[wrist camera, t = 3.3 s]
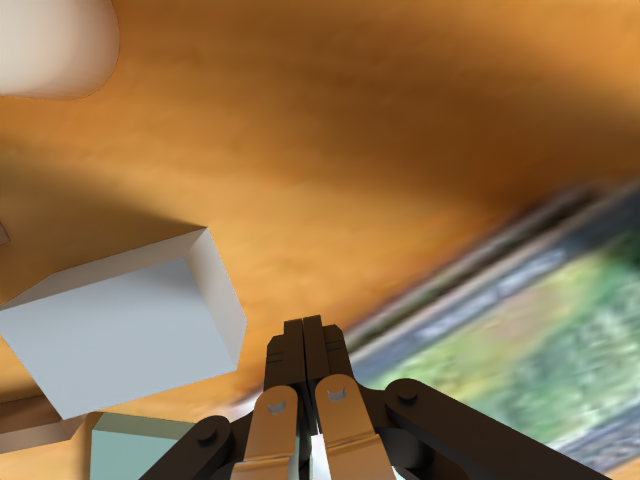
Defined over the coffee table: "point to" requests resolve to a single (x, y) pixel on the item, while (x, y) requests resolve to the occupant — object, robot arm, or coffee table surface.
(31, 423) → the display bay
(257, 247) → the coffee table surface
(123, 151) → the coffee table surface
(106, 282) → the carton
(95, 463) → the green flat block
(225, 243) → the coffee table surface
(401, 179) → the coffee table surface
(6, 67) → the white capsule shape
